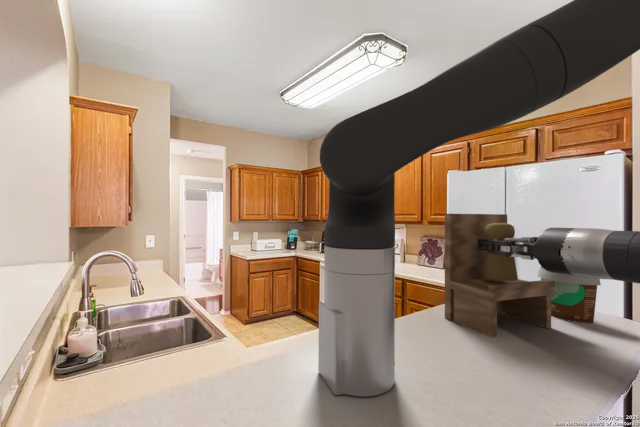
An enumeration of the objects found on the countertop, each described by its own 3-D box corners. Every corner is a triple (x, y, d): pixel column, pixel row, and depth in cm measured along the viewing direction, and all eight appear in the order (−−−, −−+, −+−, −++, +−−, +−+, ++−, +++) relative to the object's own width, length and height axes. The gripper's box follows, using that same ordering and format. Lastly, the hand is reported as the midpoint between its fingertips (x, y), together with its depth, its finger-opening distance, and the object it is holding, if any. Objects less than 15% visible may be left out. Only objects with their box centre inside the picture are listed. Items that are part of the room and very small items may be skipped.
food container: (523, 307, 71) (523, 265, 71) (547, 307, 72) (547, 265, 72) (573, 326, 59) (572, 275, 59) (601, 325, 60) (600, 274, 60)
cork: (516, 282, 56) (515, 222, 56) (480, 278, 60) (479, 222, 60) (519, 277, 61) (518, 222, 61) (485, 274, 65) (485, 222, 65)
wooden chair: (492, 338, 53) (492, 212, 53) (444, 317, 63) (444, 213, 64) (555, 328, 58) (554, 214, 58) (501, 310, 69) (500, 214, 69)
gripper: (609, 227, 49) (511, 226, 66) (549, 228, 45) (460, 226, 61) (610, 273, 49) (512, 260, 65) (550, 279, 45) (460, 263, 61)
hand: (487, 244), depth 63 cm, fingers closed on cork, 4 cm apart
